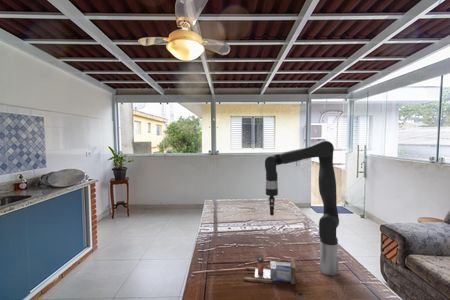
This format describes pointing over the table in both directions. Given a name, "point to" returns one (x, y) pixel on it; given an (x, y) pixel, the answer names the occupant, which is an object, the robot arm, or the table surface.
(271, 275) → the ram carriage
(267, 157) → the robot arm
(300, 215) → the table surface
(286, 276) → the medicine box
